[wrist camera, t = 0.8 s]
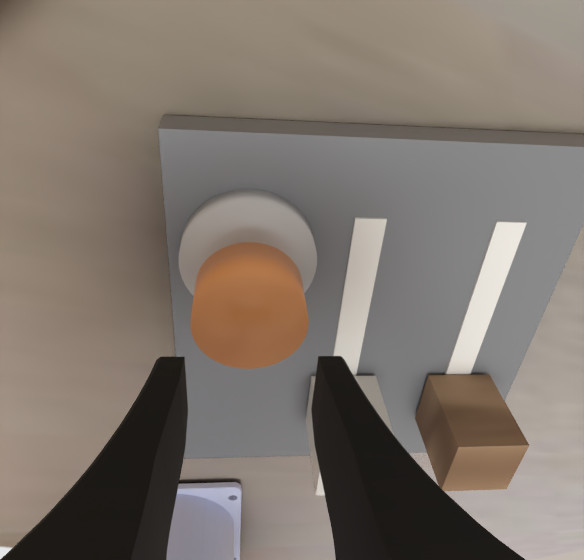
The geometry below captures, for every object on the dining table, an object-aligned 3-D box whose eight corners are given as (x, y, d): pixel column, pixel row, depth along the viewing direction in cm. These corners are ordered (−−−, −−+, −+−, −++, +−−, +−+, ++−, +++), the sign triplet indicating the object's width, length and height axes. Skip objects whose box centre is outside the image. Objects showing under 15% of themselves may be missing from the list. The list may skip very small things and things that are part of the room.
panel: (472, 428, 29) (489, 466, 27) (186, 434, 27) (182, 476, 25) (592, 134, 19) (634, 158, 17) (164, 114, 18) (153, 138, 16)
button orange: (297, 329, 18) (303, 368, 17) (197, 329, 18) (192, 369, 16) (306, 243, 16) (314, 278, 15) (193, 241, 16) (187, 276, 14)
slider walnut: (472, 417, 26) (506, 488, 22) (414, 418, 25) (440, 491, 22) (489, 374, 24) (529, 445, 21) (428, 375, 24) (458, 447, 20)
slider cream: (365, 419, 25) (385, 493, 22) (305, 420, 25) (315, 495, 21) (375, 375, 23) (398, 448, 20) (311, 376, 23) (323, 450, 20)
